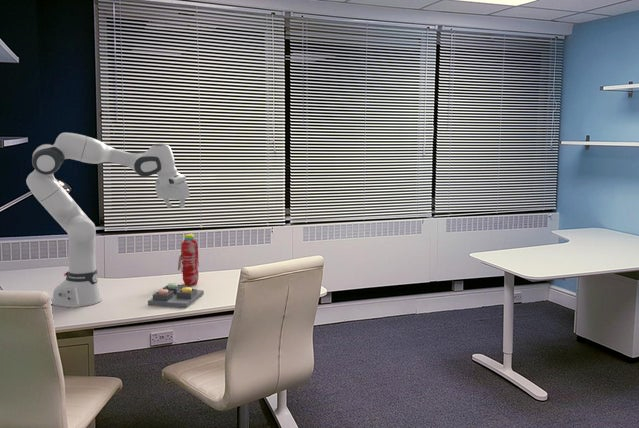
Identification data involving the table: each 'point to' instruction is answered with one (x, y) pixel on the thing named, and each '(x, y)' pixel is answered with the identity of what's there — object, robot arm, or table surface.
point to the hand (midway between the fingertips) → (176, 207)
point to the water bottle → (189, 260)
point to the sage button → (172, 285)
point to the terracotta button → (163, 291)
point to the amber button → (187, 289)
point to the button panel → (175, 297)
